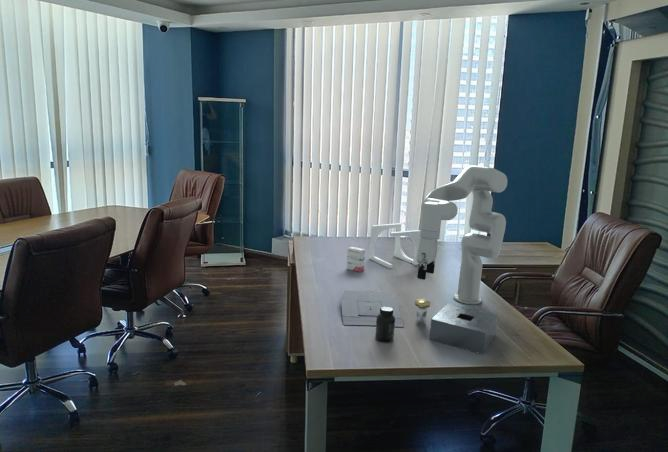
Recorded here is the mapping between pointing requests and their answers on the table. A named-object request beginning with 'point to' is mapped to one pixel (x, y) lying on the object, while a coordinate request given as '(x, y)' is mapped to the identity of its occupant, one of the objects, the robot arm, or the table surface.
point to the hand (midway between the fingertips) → (425, 275)
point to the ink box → (355, 259)
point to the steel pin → (421, 311)
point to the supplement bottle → (385, 325)
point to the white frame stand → (398, 250)
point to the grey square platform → (463, 327)
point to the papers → (367, 307)
